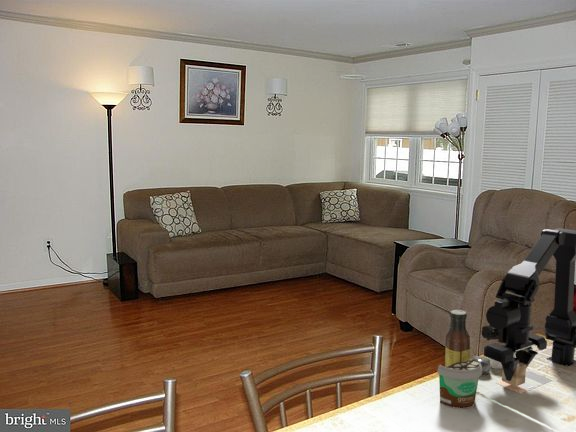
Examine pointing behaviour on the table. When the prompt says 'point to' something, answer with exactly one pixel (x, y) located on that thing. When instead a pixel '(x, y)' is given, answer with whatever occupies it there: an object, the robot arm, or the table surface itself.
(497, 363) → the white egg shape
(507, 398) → the table surface
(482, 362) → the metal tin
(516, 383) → the oak block
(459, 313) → the sauce bottle
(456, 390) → the food container
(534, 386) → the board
